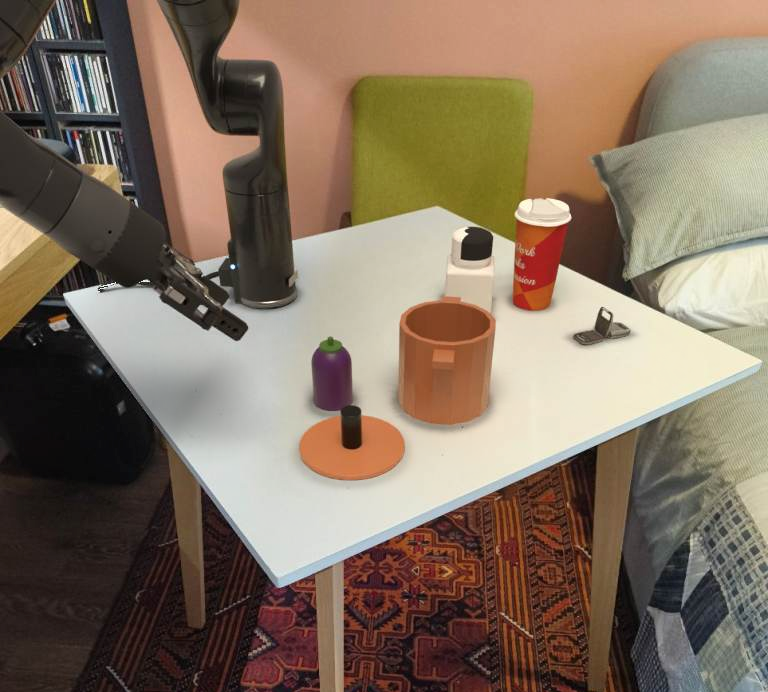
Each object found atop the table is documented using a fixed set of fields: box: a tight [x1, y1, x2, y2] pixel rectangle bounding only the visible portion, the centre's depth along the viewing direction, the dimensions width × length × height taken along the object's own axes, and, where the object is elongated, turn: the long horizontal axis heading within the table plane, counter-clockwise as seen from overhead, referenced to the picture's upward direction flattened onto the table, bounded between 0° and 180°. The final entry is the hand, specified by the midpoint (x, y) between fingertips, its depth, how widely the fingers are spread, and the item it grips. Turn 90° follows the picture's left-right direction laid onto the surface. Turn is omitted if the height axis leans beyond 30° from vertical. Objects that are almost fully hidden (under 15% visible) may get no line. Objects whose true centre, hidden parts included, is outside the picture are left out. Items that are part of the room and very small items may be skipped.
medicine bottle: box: [444, 226, 495, 315], centre depth 116 cm, size 7×7×12 cm
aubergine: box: [310, 336, 354, 412], centre depth 96 cm, size 5×5×10 cm
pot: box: [397, 295, 497, 426], centre depth 96 cm, size 11×17×12 cm
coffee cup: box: [512, 197, 572, 312], centre depth 117 cm, size 8×8×15 cm
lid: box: [298, 404, 405, 481], centre depth 89 cm, size 12×12×6 cm
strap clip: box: [573, 306, 631, 345], centre depth 112 cm, size 8×3×4 cm, turn 113°
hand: (233, 316), depth 87 cm, fingers open, 8 cm apart
